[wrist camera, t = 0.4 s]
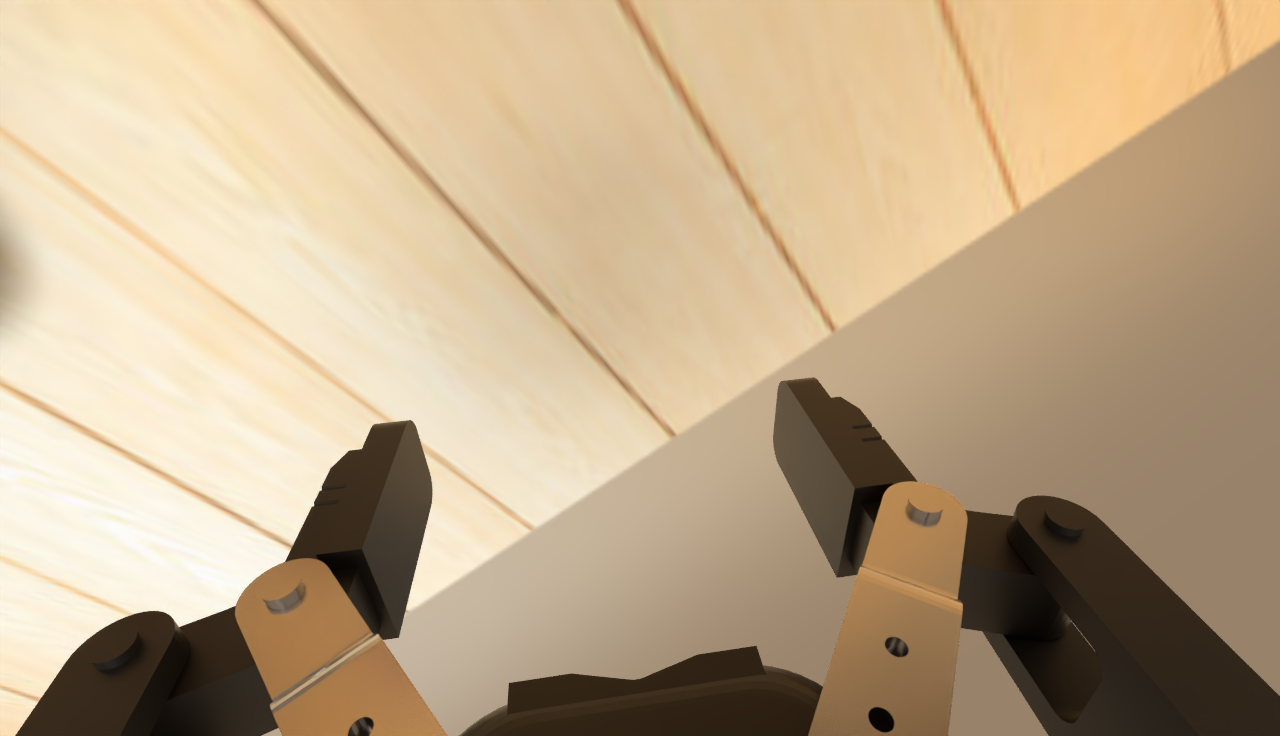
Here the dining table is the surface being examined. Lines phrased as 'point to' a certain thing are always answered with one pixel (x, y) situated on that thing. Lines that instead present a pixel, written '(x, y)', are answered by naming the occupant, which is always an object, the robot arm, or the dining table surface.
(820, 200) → the dining table surface
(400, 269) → the dining table surface
